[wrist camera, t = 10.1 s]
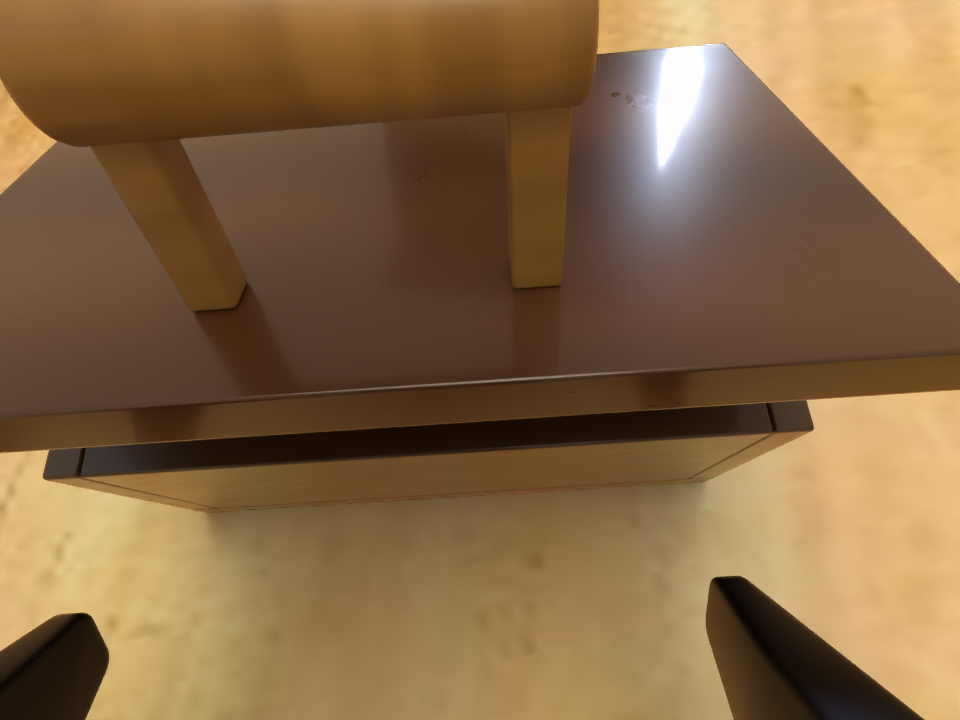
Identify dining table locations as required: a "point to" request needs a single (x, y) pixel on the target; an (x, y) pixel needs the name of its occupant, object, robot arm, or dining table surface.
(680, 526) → the dining table surface
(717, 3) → the dining table surface
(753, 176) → the brown box lid
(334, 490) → the brown wooden box
